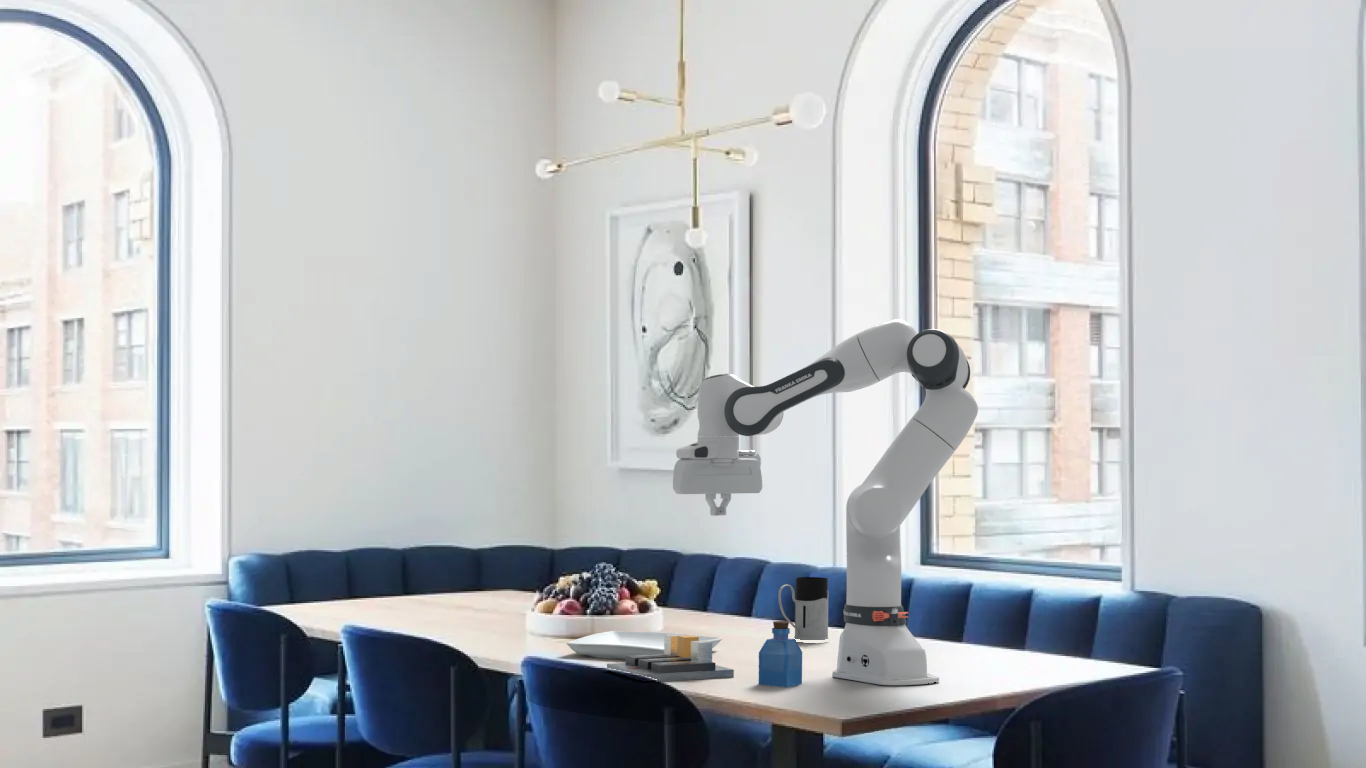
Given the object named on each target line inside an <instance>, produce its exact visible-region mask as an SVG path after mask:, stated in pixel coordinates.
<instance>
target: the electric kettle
mask: <svg viewBox="0 0 1366 768" xmlns="http://www.w3.org/2000/svg"><path fill="white" fill-rule="evenodd" d="M795 579H796V581H795V583H796V584H795V585H796V586H795V589H794V587H793V586H792V585H790V584H787V583H786V584H783V585H781V586H780V588H779V590H778V595H777V596H778V605H779V609H780V612H781V614H782V616H783V618H784V619H785V620H786V622H789V625H791V626H792V627H793V628H794V637H793V639H794V638H795V639H800V640H825V639H829V590H828V586H829V580H828V579H829V578H827V577H821V576H820V577H819V576H816V577H815V576H801V577H796V578H795ZM785 587H789V588H790V590H791V597H792V601H793V603H794V622H792V621H791V620H790V619H789V617H788V616H787V615H786V613H785V611H784V607H783V604H782V591H783V589H784V588H785Z"/></svg>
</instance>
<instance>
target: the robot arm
mask: <svg viewBox="0 0 1366 768" xmlns="http://www.w3.org/2000/svg"><path fill="white" fill-rule="evenodd" d="M899 373H908V374H911V376H912V377H913V379H915V381H917V382H918V384H919V385H920V386H921V387H922V388H923V389H924V390H925V397H924V400H923V402H922V404H921V405H920V407H919V408H918V410H916V412H915V413H914V414H913V416H912V417H911V418H910V419H909V421H908V422H907V424H906V425H905V426H904V427H903V428H902V429H901V431H900V432H899V434H898V435H897V436H896V437H895V439H894V440H893V441H892V442H891V444H890V445H889V446H888V448H887V449H886V451H884V453H883V455H882V456H881V457H880V459H879V460H878V462H877V463H876V465H875V466H874V467H873V468H872V470H871V471H870V472H869V474H868V475H867V477H866V478H865V479H864V481H863V482H862V484H860V485H858V486H857V487H855V488H854V489H853V490H852V491H851V493H850V494H849V496H848V498H847V501H846V508H845V509H846V510H845V511H846V512H845V516H846V517H845V521H846V522H845V524H846V527H845V529H846V530H845V531H846V534H845V535H846V538H845V539H846V541H845V543H846V544H845V545H846V599H845V600H846V602H845V604H844V605H843V606H844V607H843V622H845V625H844V628H843V631H842V632H841V634H840V635H839V641H838V653H837V660H836V661H837V664H836V669H835V670H833V671H832V674H831V676H832V677H833V678H837V679H838V678H840V679H845V680H849V681H850V680H851V681H857V682H863V683H867V684H868V683H869V684H872V685H873V684H874V685H880V686H914V685H915V686H916V685H925V684H926V685H927V684H928V683H929V684H935V683H934V682H936V683H939V682H940V677H939V676H937V675H934V674H930V673H928V663H927V654H926V650H925V648H924V647H923V646H922V645H921V644H920V643H919V642H918V639H916V638H915V636H914V635H913V634H912V632H911V631H910V630H909V629H908V627H907V625H906V624H907V618H909V616H907V614H909V611H904V610H905V609H904V606H903V605H902V555H901V524H903V523H904V521H905V519H906V518H907V517H908V515H910V513H911V511H912V510H913V509H914V507H915V506H916V504H917V503H918V501H920V498H921V497H922V496H923V495H924V494H925V491H926V490H927V489H928V487H929V485H930V484H931V483H932V481H933V480H934V479H935V477H937V475H938V474H939V472H940V471H941V470H942V468H943V467H944V466H945V465H946V463H947V462H948V461H949V459H951V457H952V455H954V453H955V451H956V450H957V449H958V448H959V447H960V446H961V444H962V442H963V441H964V439H965V438H966V437H967V434H968V433H969V431H970V430H971V428H972V426H973V424H974V423H975V422H974V421H975V420H976V419H977V416H978V411H979V407H978V404H977V401H976V399H975V397H974V396H973V395H972V394H971V393H970V392H969V391H968V390H966V388H967V386H968V384H969V382H970V379H971V367H970V363H969V361H968V359H967V358H966V354H965V353H964V350H963V348H962V347H961V346H960V345H959V343H957V341H956V340H955V339H954V337H953V336H952V335H951V334H949V333H947V332H946V331H943V330H941V329H937V328H936V329H935V328H930V329H924V330H921V331H920V332H918V333H917V331H916V329H915V328H914V327H913V326H912V324H911V323H909V322H907V321H905V320H903V319H892V320H889V321H885V322H883V323H880V324H877V325H873V326H871V327H869V328H866V329H864V330H862V331H860V332H857V333H856V334H854V335H853V336H852V335H851V336H850V337H848V338H847V339H845V340H843V341H841V342H840V343H838V344H837V345H835V346H834V347H833V348H831V349H830V350H828V351H827V352H826V353H824V354H823V355H822V356H820V357H818V359H816V360H814V361H813V362H811V363H810V364H808V365H807V366H805V367H803V368H801V369H799V370H797V371H794V372H793V373H791V374H788V375H786V376H784V377H782V378H780V379H777V380H775V381H773V382H770V383H769V384H766V385H761V386H754V385H751V384H749V383H748V382H745V381H744V380H742V379H740V378H739V377H738V376H737V375H735V374H733V373H724V374H723V373H721V374H715V375H711V376H707V377H705V378H704V379H703V380H702V381H701V382H700V385H699V389H698V397H697V419H698V423H699V426H698V431H697V441H696V442H693V443H691V444H688V445H685V446H682V447H679V448H678V449H676V453H675V455H676V458H677V459H678V460H677V461H676V462H675V464H674V466H673V477H672V488H673V492H675V493H676V494H677V495H705V501H706V502H707V505H708V507H709V514H710V516H712V517H713V516H718V517H719V516H727V507H728V505H729V504H730V502H731V500H732V494H759V493H761V491H762V490H763V477H762V470H761V467H762V465H761V464H762V462H761V461H762V459H761V458H762V457H761V456H760V454H759V453H758V452H756V451H755V450H751V449H750V450H744V449H743V450H739V449H740V445H739V444H740V435H741V436H744V437H751V436H757V435H767V434H770V433H771V432H773V431H775V430H776V429H777V428H778V427H779V426H780V424H781V423H782V421H783V418H784V412H785V411H788V410H789V409H791V408H794V407H795V406H798V405H800V404H802V403H804V402H806V401H808V400H811V399H813V398H815V397H816V398H817V397H818V396H822V395H827V394H834V393H837V394H838V393H851V392H854V391H858V390H862V389H865V388H867V387H871V386H873V385H876V384H877V383H879V382H881V381H883V380H886V379H887V378H889V377H891V376H893V375H895V374H899ZM717 494H719V495H720V499H721V503H720V504H719V506H717V504H716V502H715V500H716V498H717ZM938 681H939V682H938Z"/></svg>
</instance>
